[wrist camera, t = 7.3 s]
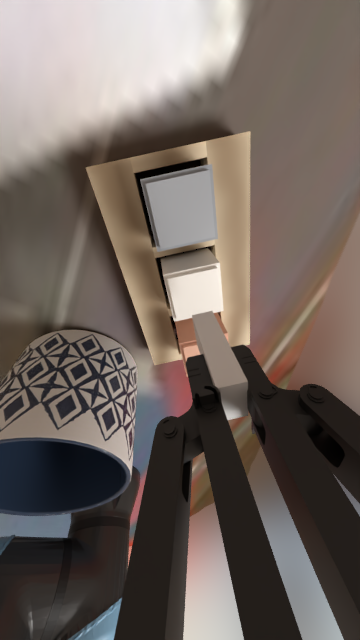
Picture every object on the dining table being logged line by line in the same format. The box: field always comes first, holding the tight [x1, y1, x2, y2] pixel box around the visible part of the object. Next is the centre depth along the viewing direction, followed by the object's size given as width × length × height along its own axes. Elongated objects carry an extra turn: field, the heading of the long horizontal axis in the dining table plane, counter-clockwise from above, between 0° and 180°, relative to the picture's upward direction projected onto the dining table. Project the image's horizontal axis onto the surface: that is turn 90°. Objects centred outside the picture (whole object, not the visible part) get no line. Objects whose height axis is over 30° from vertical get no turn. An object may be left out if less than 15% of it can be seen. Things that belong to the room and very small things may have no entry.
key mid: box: [161, 248, 224, 322], centre depth 22 cm, size 5×5×5 cm
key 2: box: [140, 164, 218, 252], centre depth 18 cm, size 5×5×5 cm
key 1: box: [175, 312, 229, 377], centre depth 25 cm, size 5×5×5 cm
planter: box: [0, 330, 137, 516], centre depth 26 cm, size 16×16×14 cm
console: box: [86, 131, 250, 365], centre depth 24 cm, size 13×22×3 cm, turn 11°
